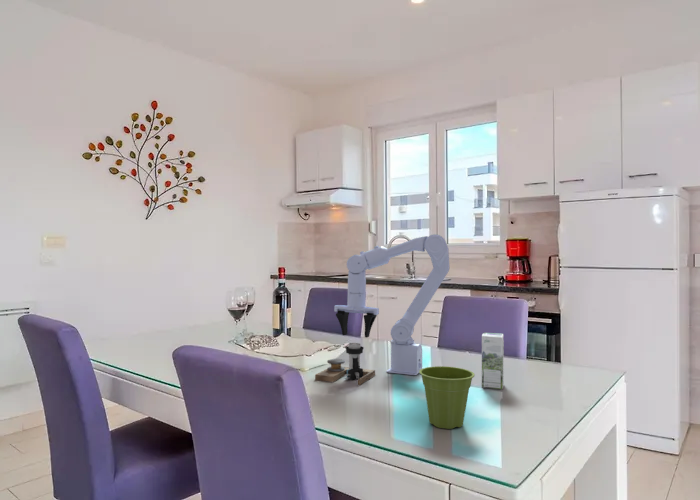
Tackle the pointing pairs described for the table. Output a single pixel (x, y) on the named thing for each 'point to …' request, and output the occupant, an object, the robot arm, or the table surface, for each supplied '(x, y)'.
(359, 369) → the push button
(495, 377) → the syrup box
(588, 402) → the table surface
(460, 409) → the plant pot
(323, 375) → the notched board
